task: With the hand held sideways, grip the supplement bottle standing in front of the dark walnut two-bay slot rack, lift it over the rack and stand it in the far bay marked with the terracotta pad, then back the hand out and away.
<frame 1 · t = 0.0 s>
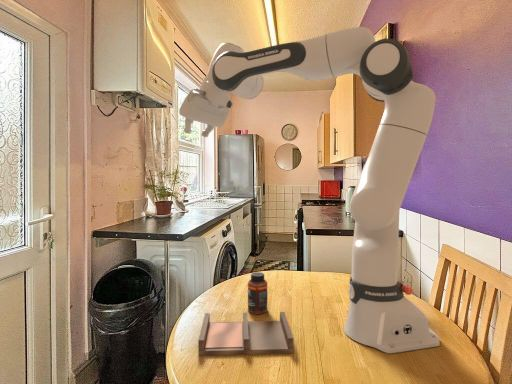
hand: (195, 134, 102), 54 cm above the table, fingers open, 8 cm apart
slot rack: (245, 338, 78), on the table
supplement bottle: (257, 311, 94), on the table
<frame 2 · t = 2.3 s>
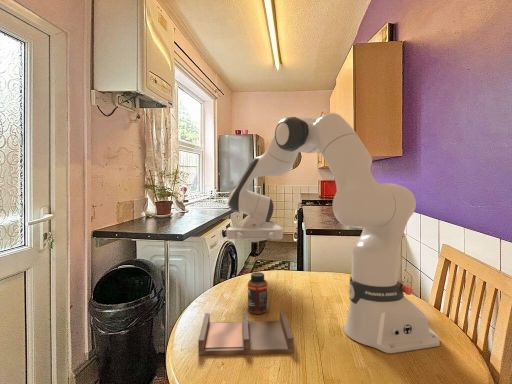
hand: (255, 237, 105), 20 cm above the table, fingers open, 8 cm apart
nothing on the table moved.
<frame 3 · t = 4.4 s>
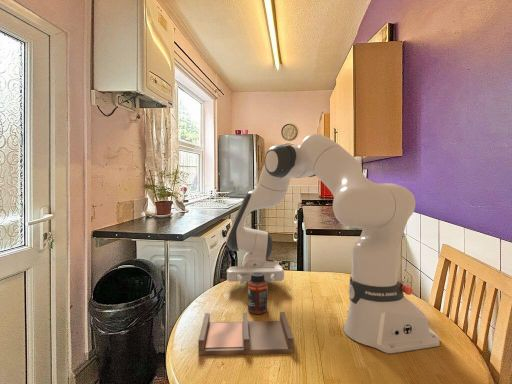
hand: (256, 281, 103), 6 cm above the table, fingers open, 8 cm apart
nothing on the table moved.
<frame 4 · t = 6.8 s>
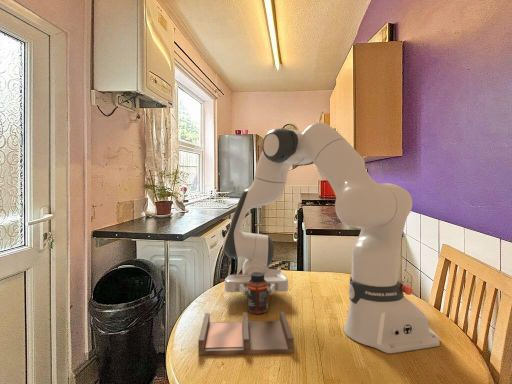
hand: (257, 292, 93), 6 cm above the table, fingers closed on supplement bottle, 6 cm apart
supplement bottle: (257, 311, 94), on the table, touching gripper
everything else where it was.
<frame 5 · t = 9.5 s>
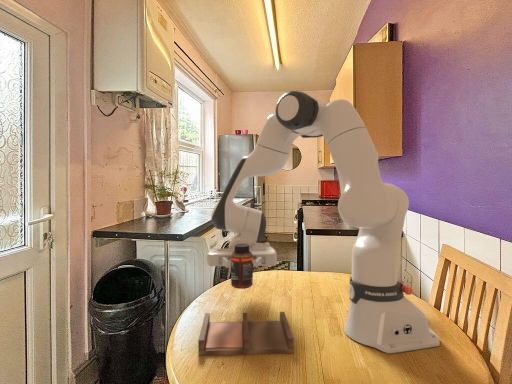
hand: (241, 264, 83), 17 cm above the table, fingers closed on supplement bottle, 6 cm apart
supplement bottle: (241, 286, 85), point 11 cm above the table, touching gripper
everything else where it was.
when the fingers open (9 cm above the table, at t = 12.2 s): supplement bottle drops 2 cm, resting on slot rack.
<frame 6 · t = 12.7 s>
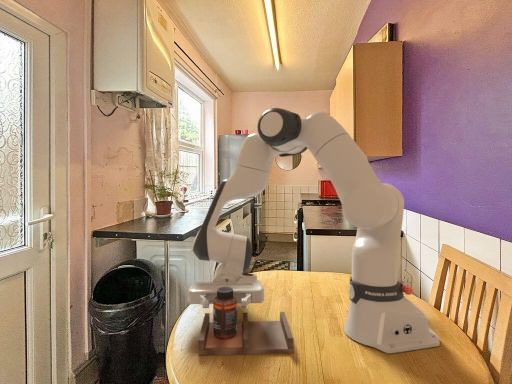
hand: (225, 304, 76), 9 cm above the table, fingers open, 8 cm apart
supplement bottle: (225, 334, 77), point 1 cm above the table, touching slot rack
everything else where it was.
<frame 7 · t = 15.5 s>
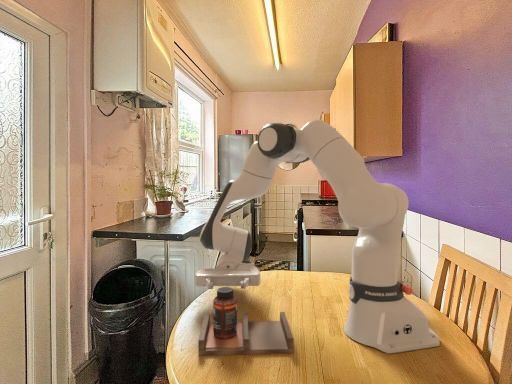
hand: (226, 286, 89), 9 cm above the table, fingers open, 8 cm apart
nothing on the table moved.
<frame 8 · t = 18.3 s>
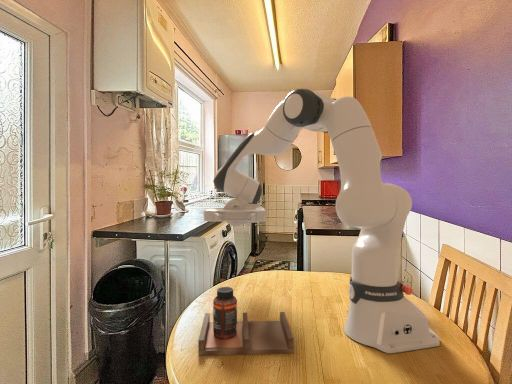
hand: (234, 218, 94), 28 cm above the table, fingers open, 8 cm apart
nothing on the table moved.
at the end: supplement bottle inside the target area on the slot rack (0.1 cm from its centre), point 1.0 cm above the slot rack's base; supplement bottle tilted 0°; the gripper is holding nothing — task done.
